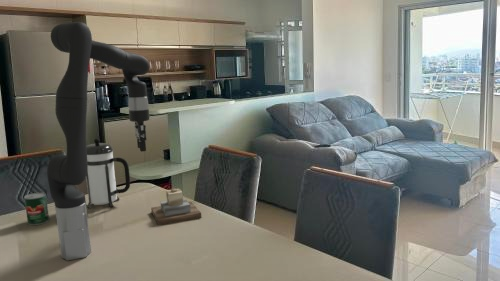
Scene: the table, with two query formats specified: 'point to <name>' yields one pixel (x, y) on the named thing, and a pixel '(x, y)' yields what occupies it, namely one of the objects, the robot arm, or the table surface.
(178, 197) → the maple block
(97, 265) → the table surface
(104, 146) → the coffee press
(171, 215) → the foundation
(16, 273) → the table surface
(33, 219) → the canned tomato
